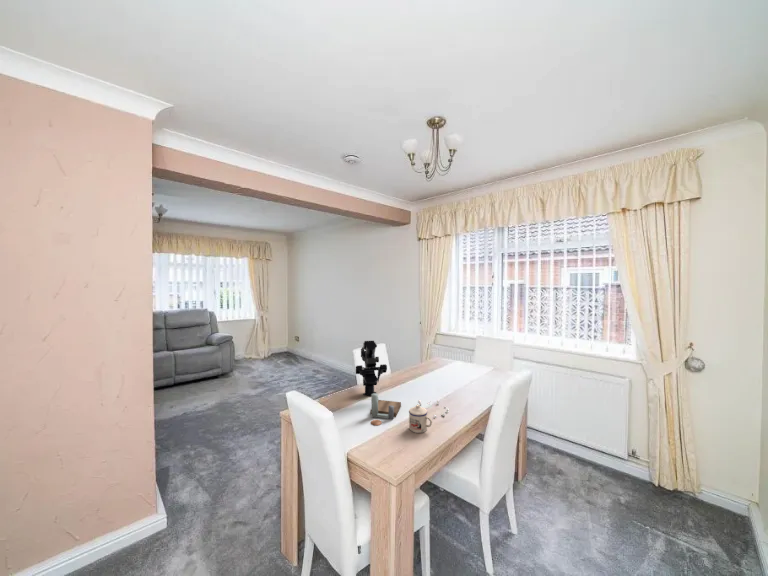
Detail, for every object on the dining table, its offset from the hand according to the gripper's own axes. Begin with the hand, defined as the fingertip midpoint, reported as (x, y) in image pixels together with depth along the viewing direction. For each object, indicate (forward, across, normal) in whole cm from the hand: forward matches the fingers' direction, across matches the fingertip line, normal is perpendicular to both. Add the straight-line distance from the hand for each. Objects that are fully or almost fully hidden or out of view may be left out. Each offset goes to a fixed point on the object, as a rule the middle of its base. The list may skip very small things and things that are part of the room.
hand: (372, 382), depth 172 cm
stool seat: (+19, +5, 0) cm, 19 cm away
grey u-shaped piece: (+21, +4, -2) cm, 21 cm away
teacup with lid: (+32, +21, -13) cm, 40 cm away
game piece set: (+18, +32, +2) cm, 37 cm away
